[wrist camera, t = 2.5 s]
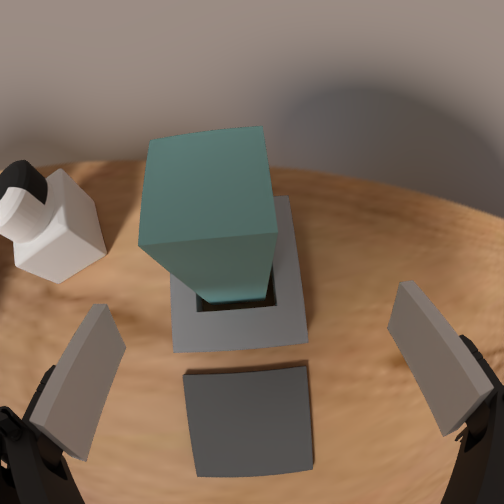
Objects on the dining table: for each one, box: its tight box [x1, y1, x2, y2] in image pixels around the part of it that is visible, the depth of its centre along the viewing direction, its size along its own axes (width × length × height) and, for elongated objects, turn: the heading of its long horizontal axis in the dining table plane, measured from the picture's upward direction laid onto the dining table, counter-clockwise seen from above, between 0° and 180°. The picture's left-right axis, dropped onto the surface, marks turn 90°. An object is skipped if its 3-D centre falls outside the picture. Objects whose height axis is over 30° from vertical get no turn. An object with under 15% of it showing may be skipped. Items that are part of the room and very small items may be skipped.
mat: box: [183, 366, 313, 477], centre depth 19 cm, size 10×10×1 cm
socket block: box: [170, 195, 308, 353], centre depth 22 cm, size 10×12×2 cm
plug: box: [138, 126, 278, 305], centre depth 16 cm, size 4×4×15 cm
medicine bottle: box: [0, 160, 107, 284], centre depth 19 cm, size 7×7×12 cm
